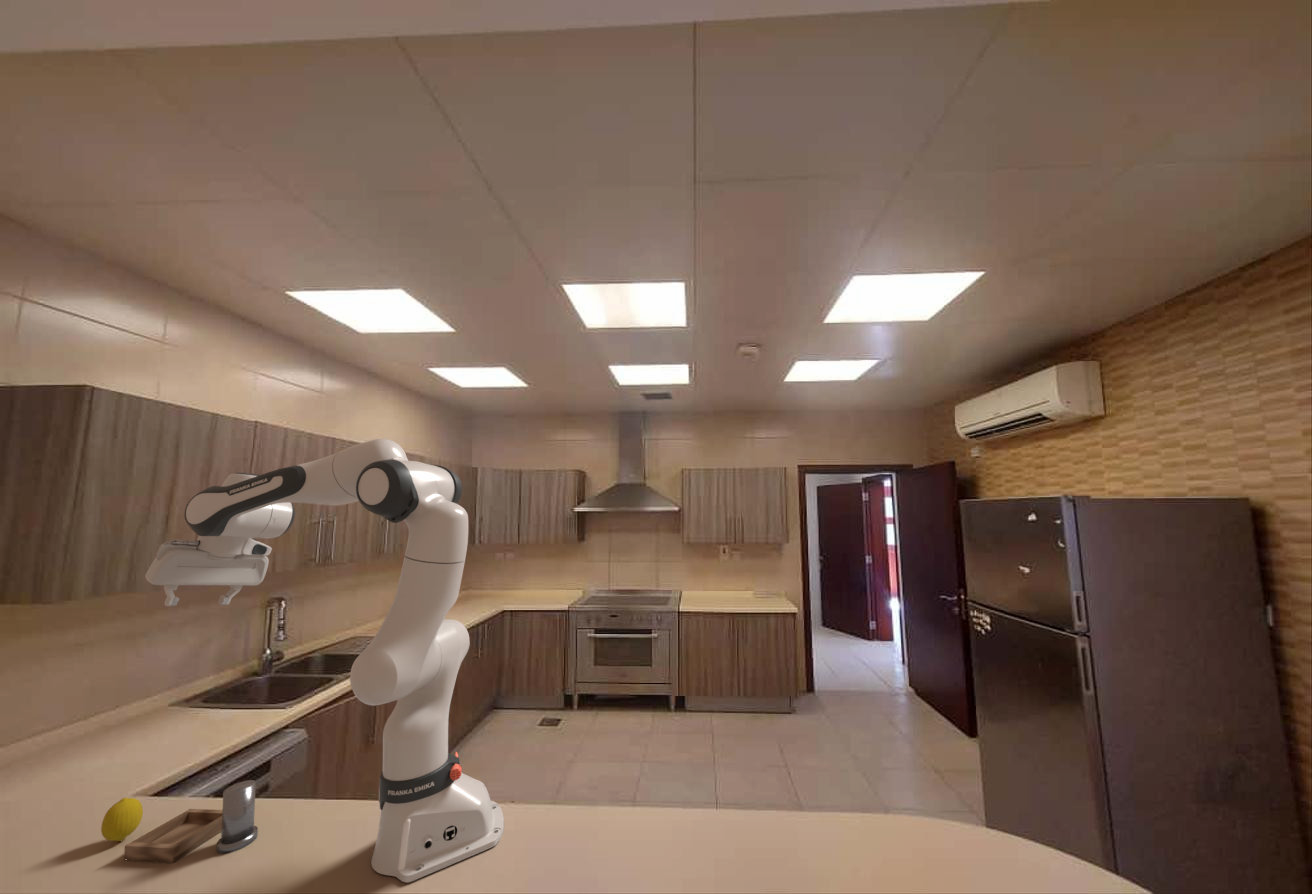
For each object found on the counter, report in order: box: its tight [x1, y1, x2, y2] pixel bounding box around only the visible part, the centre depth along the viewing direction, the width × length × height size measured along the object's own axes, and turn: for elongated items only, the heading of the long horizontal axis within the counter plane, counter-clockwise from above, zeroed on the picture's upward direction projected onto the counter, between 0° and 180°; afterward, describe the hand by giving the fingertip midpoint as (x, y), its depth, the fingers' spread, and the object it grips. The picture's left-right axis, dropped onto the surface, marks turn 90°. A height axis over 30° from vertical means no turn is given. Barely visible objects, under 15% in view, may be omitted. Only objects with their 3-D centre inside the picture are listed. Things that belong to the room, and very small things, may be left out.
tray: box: [123, 808, 222, 864], centre depth 94 cm, size 11×11×2 cm
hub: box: [215, 779, 259, 855], centre depth 93 cm, size 6×6×10 cm
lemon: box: [100, 797, 144, 842], centre depth 95 cm, size 6×6×8 cm
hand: (197, 604), depth 104 cm, fingers open, 8 cm apart
